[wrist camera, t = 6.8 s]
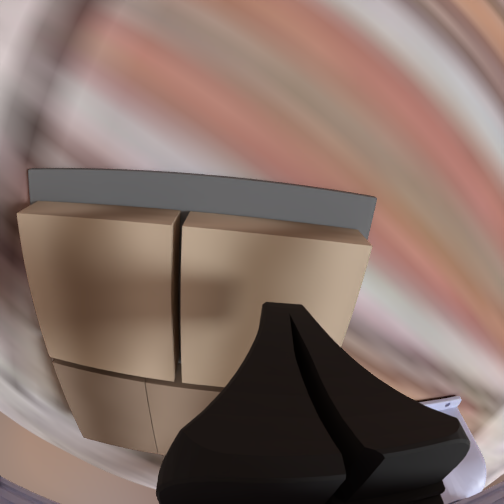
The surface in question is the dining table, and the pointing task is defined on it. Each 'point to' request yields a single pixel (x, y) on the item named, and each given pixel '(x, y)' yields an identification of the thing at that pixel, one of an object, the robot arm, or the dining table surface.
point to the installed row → (131, 405)
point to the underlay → (203, 197)
